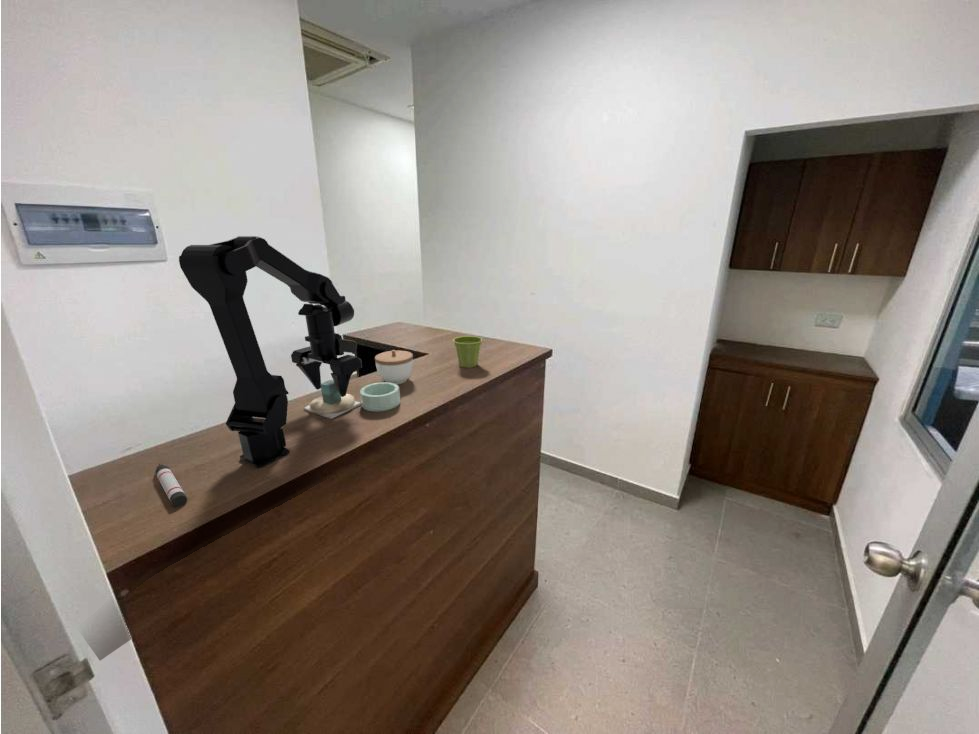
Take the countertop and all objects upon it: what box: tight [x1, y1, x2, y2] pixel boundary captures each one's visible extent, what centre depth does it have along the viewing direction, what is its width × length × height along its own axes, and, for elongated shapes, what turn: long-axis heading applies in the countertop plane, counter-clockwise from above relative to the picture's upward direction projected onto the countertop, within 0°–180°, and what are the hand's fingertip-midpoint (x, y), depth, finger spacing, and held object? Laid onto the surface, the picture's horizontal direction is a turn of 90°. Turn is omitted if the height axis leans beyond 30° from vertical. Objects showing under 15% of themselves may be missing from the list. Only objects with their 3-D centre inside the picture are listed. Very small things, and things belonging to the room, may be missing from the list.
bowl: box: [359, 381, 401, 413], centre depth 97 cm, size 9×9×4 cm
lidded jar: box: [374, 349, 414, 385], centre depth 111 cm, size 11×11×9 cm
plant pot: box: [452, 335, 483, 369], centre depth 124 cm, size 9×9×9 cm
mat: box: [303, 400, 362, 420], centre depth 96 cm, size 9×10×1 cm
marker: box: [155, 463, 188, 508], centre depth 66 cm, size 15×2×2 cm, turn 49°
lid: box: [309, 379, 356, 415], centre depth 95 cm, size 10×10×6 cm
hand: (330, 392), depth 94 cm, fingers open, 9 cm apart
